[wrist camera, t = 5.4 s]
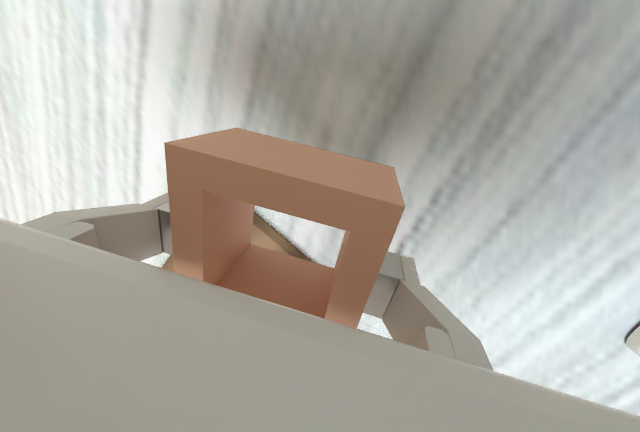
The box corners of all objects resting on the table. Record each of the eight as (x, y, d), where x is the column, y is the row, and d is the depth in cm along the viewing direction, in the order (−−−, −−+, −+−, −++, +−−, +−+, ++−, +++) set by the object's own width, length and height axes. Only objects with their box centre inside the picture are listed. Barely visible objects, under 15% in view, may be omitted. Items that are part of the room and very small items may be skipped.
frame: (393, 167, 10) (404, 206, 6) (350, 291, 13) (341, 365, 9) (236, 127, 10) (164, 142, 7) (229, 255, 13) (177, 312, 10)
